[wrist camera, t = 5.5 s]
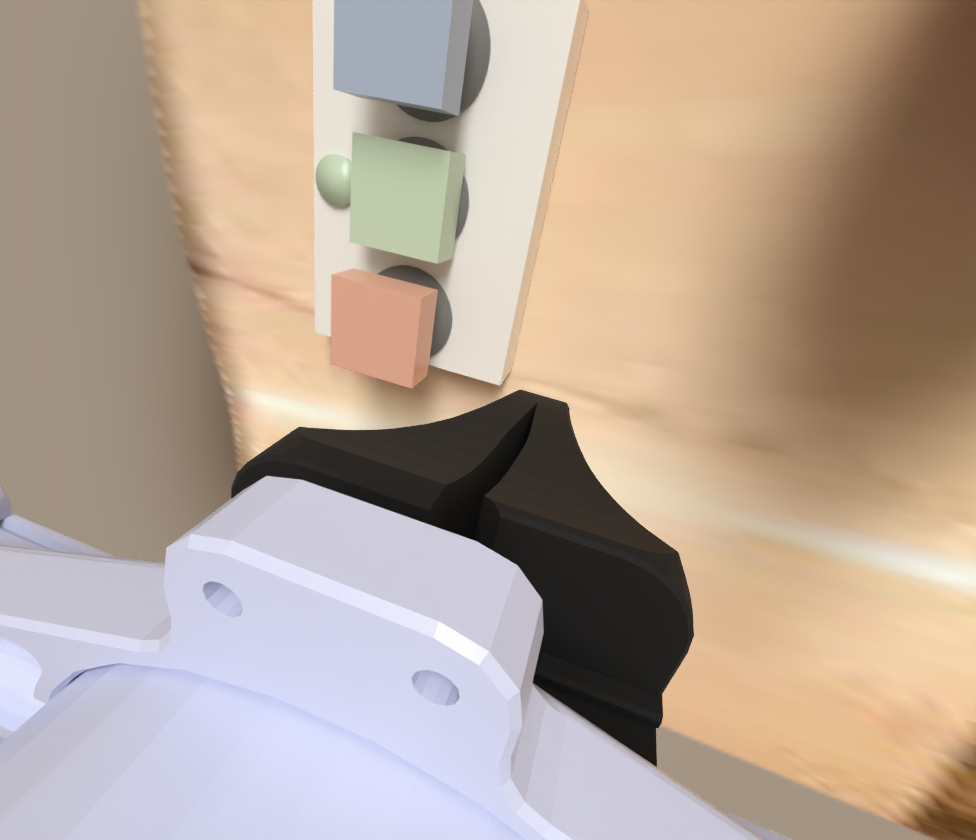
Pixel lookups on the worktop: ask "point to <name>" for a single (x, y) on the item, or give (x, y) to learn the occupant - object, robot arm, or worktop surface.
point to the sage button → (405, 197)
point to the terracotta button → (381, 326)
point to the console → (486, 180)
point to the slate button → (402, 51)
